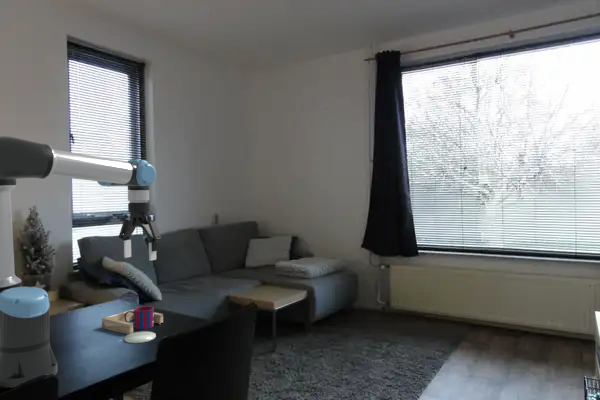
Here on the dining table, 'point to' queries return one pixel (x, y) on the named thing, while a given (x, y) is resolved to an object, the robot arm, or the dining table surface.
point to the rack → (121, 325)
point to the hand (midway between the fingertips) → (140, 258)
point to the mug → (143, 317)
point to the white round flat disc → (140, 337)
